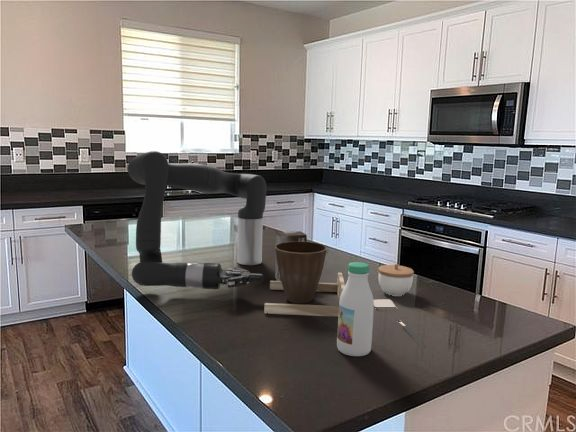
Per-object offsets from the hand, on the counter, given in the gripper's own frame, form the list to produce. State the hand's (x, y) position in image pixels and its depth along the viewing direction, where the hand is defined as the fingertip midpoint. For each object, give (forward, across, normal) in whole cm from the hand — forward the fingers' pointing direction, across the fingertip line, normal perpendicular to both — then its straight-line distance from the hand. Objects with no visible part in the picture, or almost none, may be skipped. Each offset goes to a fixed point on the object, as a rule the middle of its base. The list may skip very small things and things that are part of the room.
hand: (263, 278), depth 134 cm
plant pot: (+11, +1, +7) cm, 13 cm away
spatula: (+37, -13, +7) cm, 40 cm away
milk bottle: (+23, -30, +7) cm, 39 cm away
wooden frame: (+13, 0, +6) cm, 14 cm away
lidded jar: (+40, +11, +7) cm, 42 cm away
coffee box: (+8, +20, +7) cm, 22 cm away
